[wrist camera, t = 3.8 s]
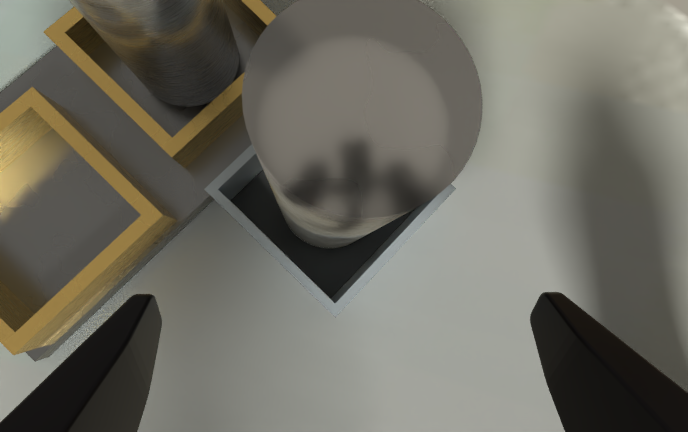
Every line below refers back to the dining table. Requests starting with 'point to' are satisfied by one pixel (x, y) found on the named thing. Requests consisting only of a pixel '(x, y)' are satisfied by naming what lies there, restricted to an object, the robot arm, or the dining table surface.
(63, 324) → the gold holder tray
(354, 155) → the billet
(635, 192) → the dining table surface
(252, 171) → the grey square dish
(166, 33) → the billet twin
